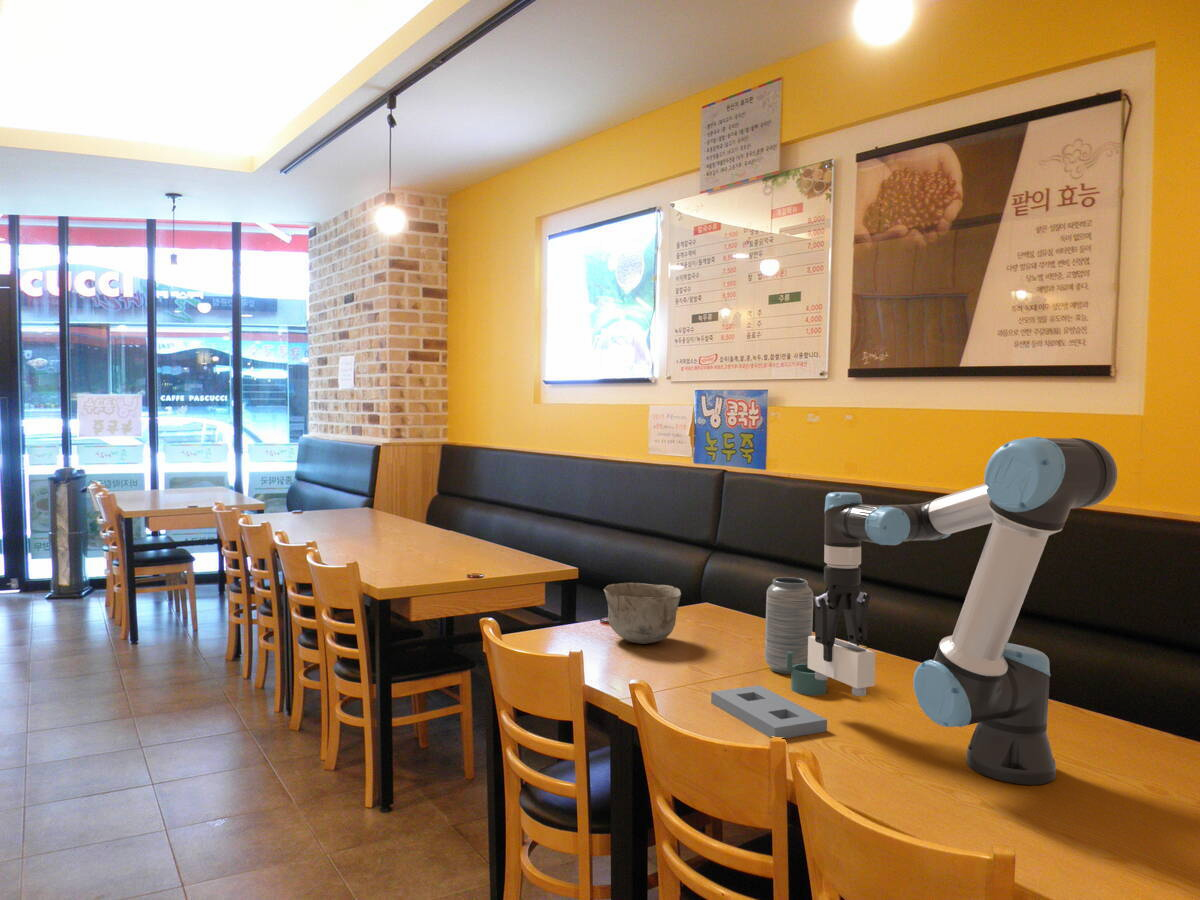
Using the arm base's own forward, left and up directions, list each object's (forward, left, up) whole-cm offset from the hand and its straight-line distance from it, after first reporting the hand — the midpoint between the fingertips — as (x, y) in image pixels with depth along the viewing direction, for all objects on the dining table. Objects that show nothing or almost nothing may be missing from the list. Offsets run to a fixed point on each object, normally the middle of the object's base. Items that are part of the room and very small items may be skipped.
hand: (840, 674), depth 186 cm
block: (0, 0, -2) cm, 3 cm away
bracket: (+21, -8, -10) cm, 24 cm away
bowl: (+73, +10, -10) cm, 74 cm away
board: (+9, +13, -10) cm, 18 cm away
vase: (+36, -13, -10) cm, 39 cm away
